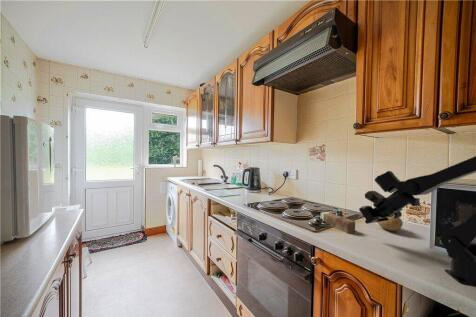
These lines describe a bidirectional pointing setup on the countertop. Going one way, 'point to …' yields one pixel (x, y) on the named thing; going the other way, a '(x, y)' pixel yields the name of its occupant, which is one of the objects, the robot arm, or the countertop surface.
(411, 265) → the countertop surface
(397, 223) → the potato
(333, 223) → the walnut block
